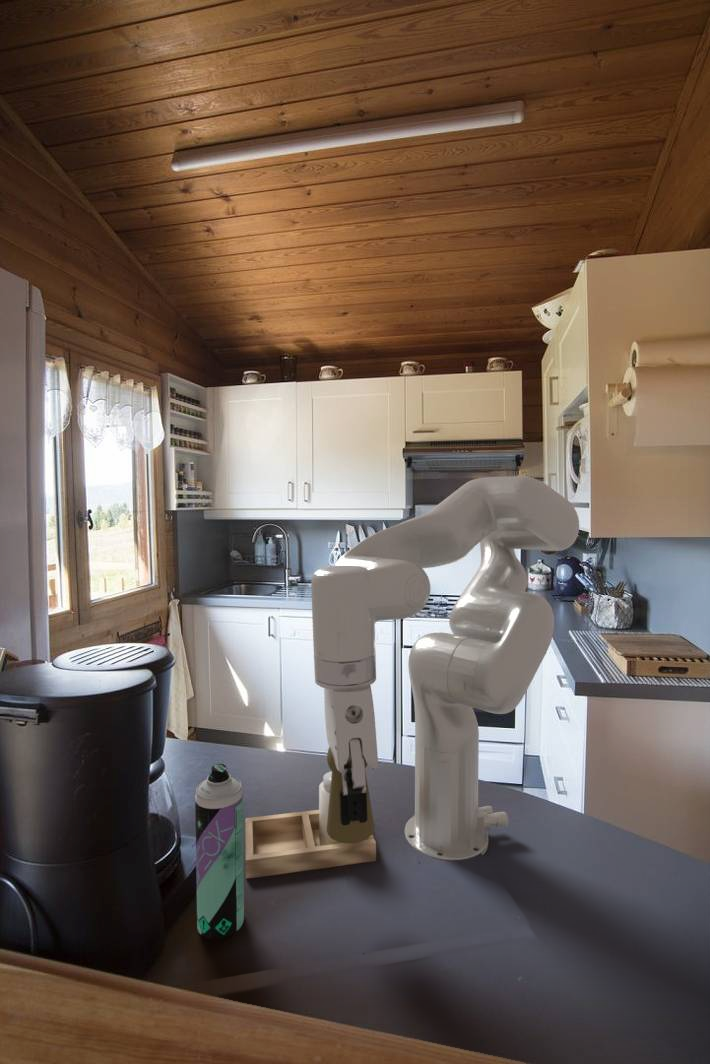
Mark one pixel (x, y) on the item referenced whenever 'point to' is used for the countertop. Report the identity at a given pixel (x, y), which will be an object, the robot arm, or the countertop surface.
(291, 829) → the caddy
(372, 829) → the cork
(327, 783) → the salt shaker
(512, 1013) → the countertop surface
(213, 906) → the spray can
